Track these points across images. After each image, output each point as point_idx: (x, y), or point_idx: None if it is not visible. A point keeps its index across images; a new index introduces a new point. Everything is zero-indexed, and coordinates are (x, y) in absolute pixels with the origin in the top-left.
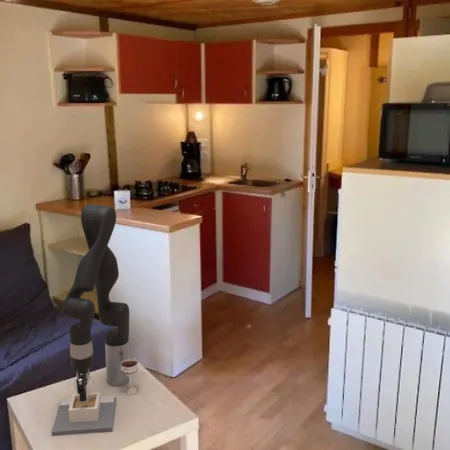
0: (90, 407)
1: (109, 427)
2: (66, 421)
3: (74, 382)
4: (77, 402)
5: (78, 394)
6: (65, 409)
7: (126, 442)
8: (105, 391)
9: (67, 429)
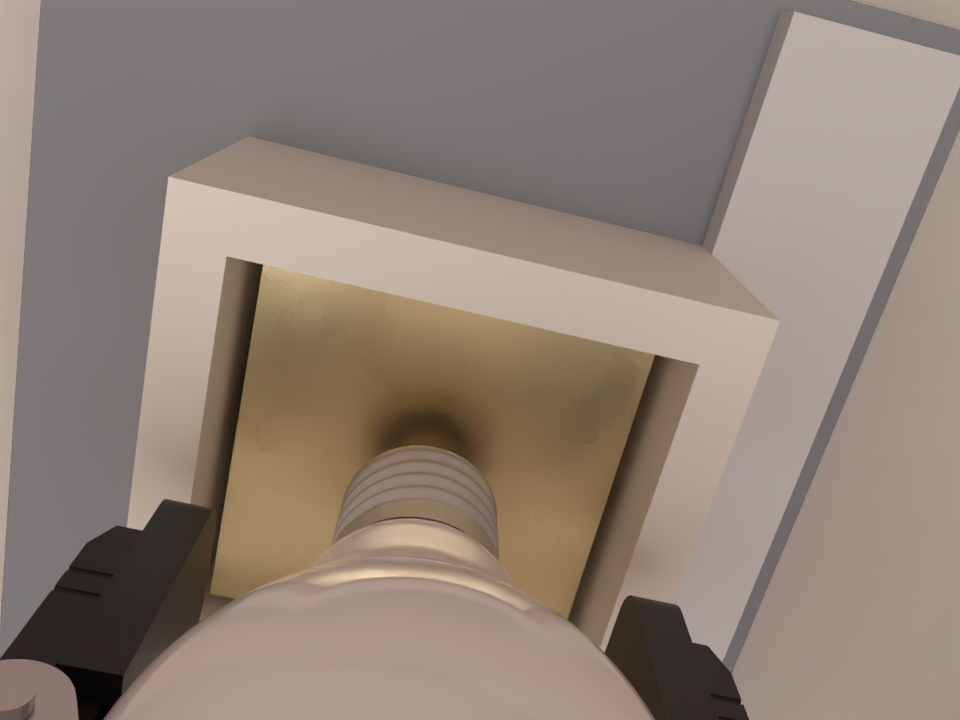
0: None
1: (4, 651)
2: (305, 88)
3: (404, 704)
4: (550, 359)
5: (709, 431)
6: (667, 101)
7: None
8: (936, 679)
9: (73, 86)
